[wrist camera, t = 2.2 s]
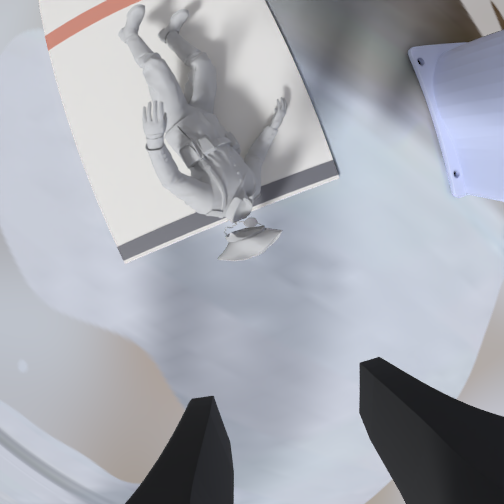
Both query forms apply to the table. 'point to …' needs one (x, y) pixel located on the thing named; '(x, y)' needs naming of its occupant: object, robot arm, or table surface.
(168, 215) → the mat
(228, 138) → the soldier figure
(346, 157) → the table surface
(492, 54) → the robot arm
